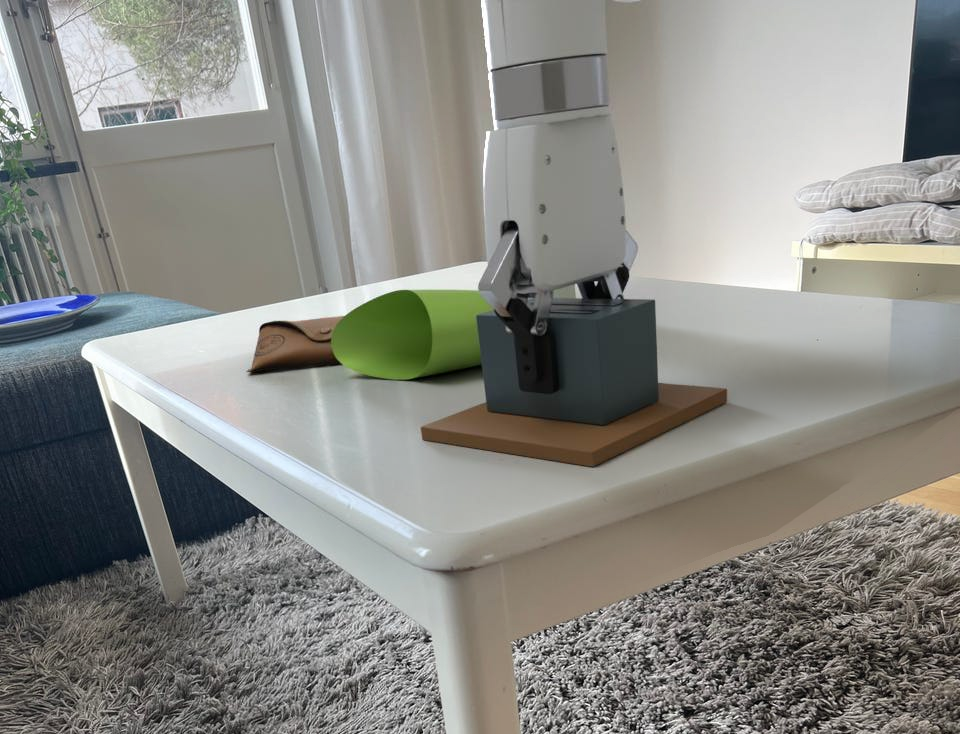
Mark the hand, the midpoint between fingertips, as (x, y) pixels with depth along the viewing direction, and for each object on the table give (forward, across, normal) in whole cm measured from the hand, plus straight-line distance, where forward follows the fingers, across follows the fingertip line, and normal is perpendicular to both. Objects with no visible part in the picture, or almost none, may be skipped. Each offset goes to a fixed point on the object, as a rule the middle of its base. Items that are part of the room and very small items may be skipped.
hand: (571, 376), depth 70 cm
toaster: (+2, 0, -1) cm, 2 cm away
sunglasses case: (+3, -10, -41) cm, 42 cm away
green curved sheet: (+3, -10, -23) cm, 25 cm away
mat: (+3, 0, 0) cm, 3 cm away
